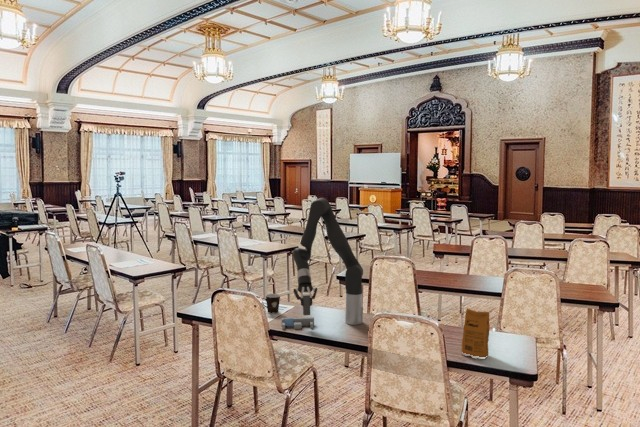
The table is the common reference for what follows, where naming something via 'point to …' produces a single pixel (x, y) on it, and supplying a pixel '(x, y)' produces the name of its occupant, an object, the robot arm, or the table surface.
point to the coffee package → (476, 333)
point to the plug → (306, 303)
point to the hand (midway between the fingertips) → (306, 305)
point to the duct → (297, 322)
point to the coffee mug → (272, 302)
